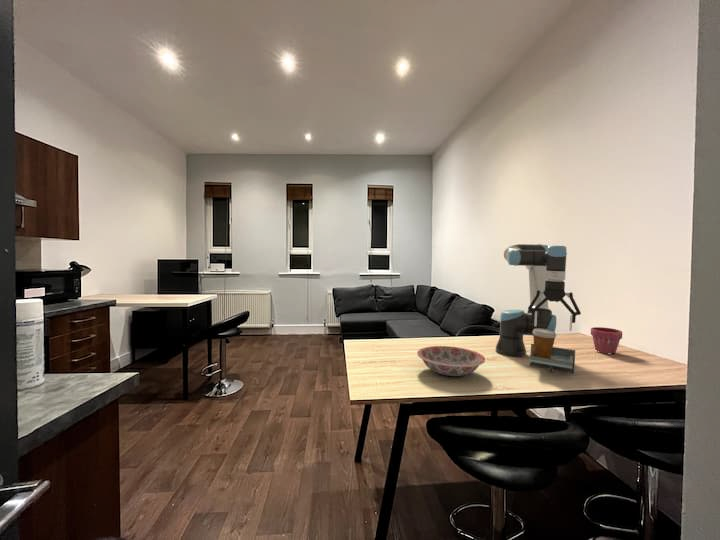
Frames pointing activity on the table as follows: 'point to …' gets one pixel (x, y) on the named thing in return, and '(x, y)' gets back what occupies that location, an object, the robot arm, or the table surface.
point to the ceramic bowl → (451, 360)
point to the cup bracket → (555, 360)
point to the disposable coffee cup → (543, 342)
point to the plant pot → (606, 339)
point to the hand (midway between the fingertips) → (552, 328)
